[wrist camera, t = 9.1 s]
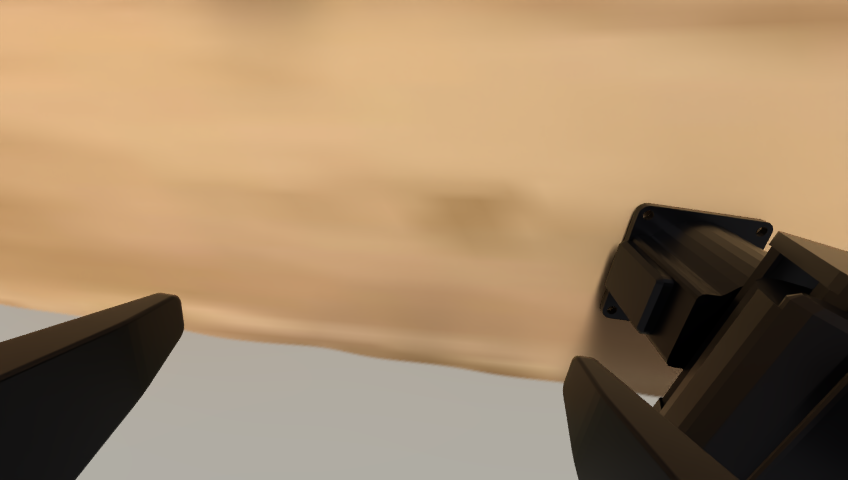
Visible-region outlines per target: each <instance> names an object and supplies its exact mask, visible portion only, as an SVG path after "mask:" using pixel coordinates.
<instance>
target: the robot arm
mask: <svg viewBox="0 0 848 480" xmlns="http://www.w3.org/2000/svg"><path fill="white" fill-rule="evenodd" d="M649 210H650V214H649V216H647V217H644V218H643V214H644V213H645V212H646V211H649ZM761 227H762V228H761ZM759 228H761V230H760V231H759V232H758V233H756V231H757V230H758V229H759ZM772 232H773V226H772V225H771V224H770V223H768V222H766V221H764V220H761V219H755V218H748V217H741V216H734V215H727V214H720V213H713V212H706V211H699V210H692V209H686V208H679V207H672V206H665V205H658V204H651V203H644V204H641V205H639V206H638V207H637V208H636V210H635V212H634V215H633V217H632V220H631V223H630V225H629V228H628V231H627V234H626V236H625V239H624V241H623V242H621V243H620V244H619V246H618V249H617V252H616V255H615V257H614V260H613V263H612V266H611V268H610V271H609V274H608V277H607V279H606V282H605V286H606V291H605V293H604V296H603V299H602V302H601V304H600V309H601V312H602V313H603V315H604V316H605V317H608V318H613V319H620V320H627V321H631V323H632V324H633V326H634V327H635V328H636V330H637V331H638V332H639V333H641V334H645V335H646V336H647V337H648V339H649V340H650V341H651V343H652V344H653V345H654V347H655V348H656V349H657V351H658V352H659V354H660V355H661V356H662V358H663V359H664V360H665V362H666V363H667V364H668V366H671V367H675V368H682V369H683V371H682V372H681V374H680V375H679V376H678V378H677V379H676V381H675V382H674V383H673V385H672V386H671V388H670V389H669V390H668V392H667V393H666V394H665V396H664V397H663V398H659V400H658V401H657V402H656V404H655V405H654V406H653V407H652V406H651V405H649V404H648V403H647V402H646V401H645V400H643V399H642V398H641V397H640V396H639V395H637V394H636V393H635V392H634V391H633V390H631V389H630V388H629V387H628V386H627V385H625V384H624V383H623V382H622V381H621V380H620V379H618V378H617V377H616V376H615V375H614V374H612V373H611V372H610V371H609V370H608V369H606V368H605V367H604V366H603V365H602V364H600V363H599V362H598V361H597V360H595V359H594V358H590V357H583V356H576V357H574V358H573V360H572V362H571V365H570V367H569V370H568V373H567V376H566V378H565V381H564V385H563V396H564V403H565V409H566V416H567V422H568V428H569V435H570V441H571V448H572V453H573V458H574V463H575V467H576V471H577V475H578V479H579V480H848V252H847V251H844V250H841V249H837V248H834V247H831V246H827V245H824V244H821V243H817V242H814V241H811V240H808V239H804V238H801V237H798V236H794V235H791V234H788V233H784V232H781V231H778V232H777V234H776V235H775V237H774V238H773V239H772V241H771V242H770V244H769V245H770V246H772V247H771V248H770V250H769V251H768V252H766V251H764V250H763V249H764V247H765V246H766V244H767V242H768V240H769V238H770V236H771V234H772ZM611 306H614V308H613V309H611V310H607V309H608V308H609V307H611ZM183 330H184V320H183V313H182V306H181V300H180V298H179V297H178V296H176V295H171V294H165V293H156V294H153V295H150V296H147V297H144V298H140V299H137V300H134V301H131V302H128V303H124V304H121V305H118V306H115V307H112V308H109V309H105V310H102V311H99V312H96V313H93V314H89V315H86V316H83V317H80V318H77V319H74V320H70V321H67V322H64V323H61V324H57V325H54V326H51V327H48V328H45V329H42V330H38V331H35V332H32V333H29V334H26V335H22V336H19V337H16V338H13V339H10V340H7V341H3V342H0V480H76V478H77V477H78V476H79V475H80V473H81V472H82V471H83V470H84V468H85V467H86V466H87V464H88V463H89V462H90V461H91V460H92V458H93V457H94V456H95V454H96V453H97V452H98V451H99V449H100V448H101V447H102V446H103V444H104V443H105V442H106V441H107V439H108V438H109V437H110V436H111V434H112V433H113V432H114V431H115V429H116V428H117V427H118V426H119V424H120V423H121V422H122V421H123V419H124V418H125V417H126V416H127V414H128V413H129V412H130V410H131V409H132V408H133V407H134V406H135V404H136V403H137V402H138V400H139V399H140V398H141V396H142V395H143V394H144V392H145V391H146V389H147V388H148V387H149V385H150V383H151V382H152V380H153V379H154V377H155V376H156V374H157V373H158V371H159V370H160V368H161V367H162V365H163V363H164V362H165V361H166V359H167V357H168V356H169V354H170V353H171V351H172V350H173V348H174V347H175V345H176V343H177V342H178V341H179V339H180V337H181V335H182V333H183Z"/></svg>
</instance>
